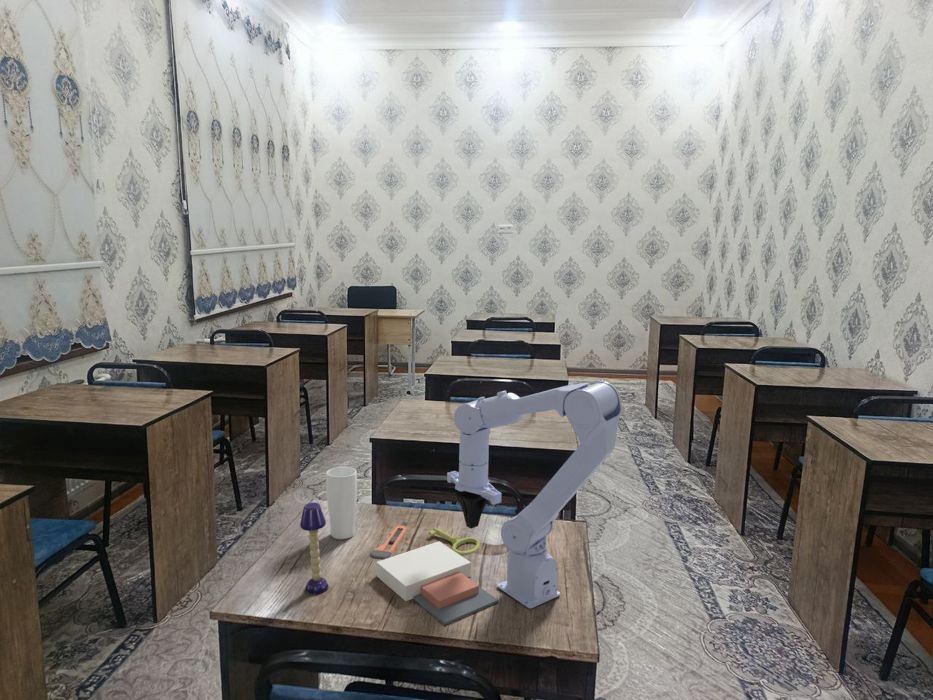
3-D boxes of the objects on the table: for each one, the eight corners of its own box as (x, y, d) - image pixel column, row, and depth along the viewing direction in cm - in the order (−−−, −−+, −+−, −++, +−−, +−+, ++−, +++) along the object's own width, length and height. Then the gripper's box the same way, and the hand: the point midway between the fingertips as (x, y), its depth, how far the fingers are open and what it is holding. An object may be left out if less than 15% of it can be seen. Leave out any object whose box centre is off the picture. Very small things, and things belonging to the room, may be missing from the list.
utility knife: (368, 554, 130) (394, 518, 148) (368, 558, 131) (394, 522, 148) (387, 556, 130) (411, 520, 147) (387, 561, 130) (411, 524, 147)
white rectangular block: (470, 576, 123) (470, 562, 123) (405, 601, 114) (405, 586, 114) (439, 554, 132) (439, 541, 132) (376, 576, 123) (376, 561, 123)
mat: (498, 602, 114) (498, 599, 114) (444, 625, 107) (444, 622, 107) (465, 579, 122) (465, 576, 122) (413, 599, 115) (413, 596, 115)
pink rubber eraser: (478, 593, 117) (478, 585, 116) (438, 608, 111) (438, 601, 111) (460, 579, 121) (460, 572, 121) (420, 593, 116) (420, 586, 116)
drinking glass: (321, 539, 138) (319, 475, 136) (336, 526, 144) (335, 464, 142) (349, 544, 136) (348, 478, 134) (363, 530, 142) (362, 468, 140)
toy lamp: (302, 596, 116) (299, 511, 113) (302, 583, 120) (299, 501, 117) (329, 592, 117) (326, 508, 114) (327, 580, 121) (325, 498, 119)
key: (432, 534, 142) (432, 525, 142) (483, 545, 138) (483, 536, 137) (418, 548, 136) (418, 539, 135) (471, 560, 131) (471, 550, 131)
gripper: (435, 455, 125) (434, 518, 128) (482, 476, 114) (480, 545, 116) (462, 448, 130) (461, 510, 132) (510, 468, 119) (508, 535, 121)
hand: (472, 526), depth 125 cm, fingers closed
